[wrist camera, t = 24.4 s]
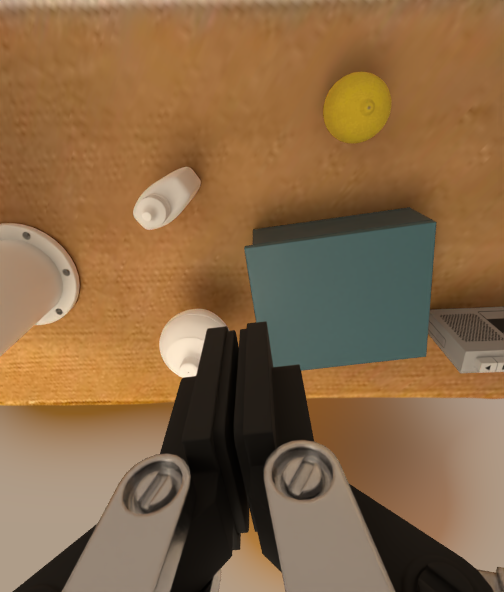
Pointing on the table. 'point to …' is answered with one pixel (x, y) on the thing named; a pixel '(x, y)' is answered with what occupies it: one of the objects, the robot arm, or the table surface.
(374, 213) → the chest
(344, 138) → the lemon
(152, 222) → the eye dropper bottle
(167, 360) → the spinning top
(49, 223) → the table surface
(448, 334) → the cassette player
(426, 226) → the lid
